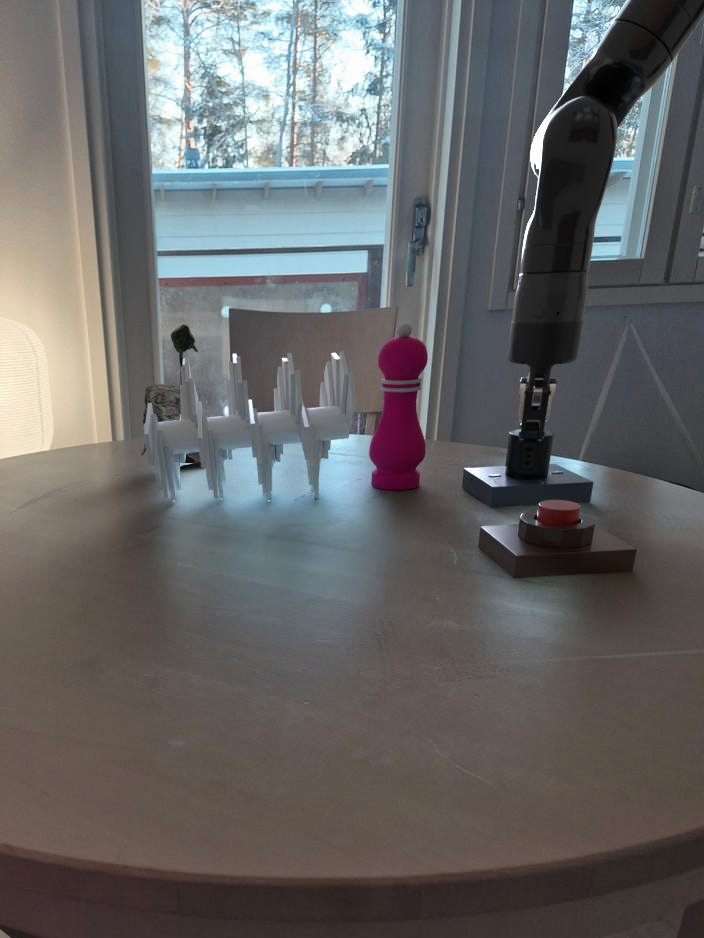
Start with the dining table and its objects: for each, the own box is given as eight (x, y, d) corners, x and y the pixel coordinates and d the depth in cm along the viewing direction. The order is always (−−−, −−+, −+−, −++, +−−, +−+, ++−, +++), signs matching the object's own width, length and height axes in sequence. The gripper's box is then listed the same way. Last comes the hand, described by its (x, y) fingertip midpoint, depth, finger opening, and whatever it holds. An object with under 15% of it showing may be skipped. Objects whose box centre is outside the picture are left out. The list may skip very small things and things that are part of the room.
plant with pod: (143, 461, 119) (132, 325, 110) (214, 457, 119) (208, 322, 110) (140, 472, 111) (128, 328, 103) (216, 468, 112) (209, 325, 103)
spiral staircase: (161, 521, 101) (344, 506, 100) (142, 497, 84) (363, 478, 83) (150, 389, 101) (333, 372, 100) (129, 337, 84) (350, 315, 83)
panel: (552, 482, 97) (555, 462, 96) (590, 502, 88) (594, 480, 87) (461, 487, 96) (463, 466, 95) (490, 508, 87) (493, 485, 86)
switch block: (584, 541, 75) (591, 503, 74) (632, 572, 67) (641, 529, 66) (477, 547, 75) (482, 508, 73) (513, 578, 67) (519, 536, 65)
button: (566, 516, 71) (569, 498, 71) (584, 527, 68) (588, 508, 67) (529, 518, 71) (532, 500, 70) (546, 529, 68) (549, 511, 67)
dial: (504, 468, 94) (510, 426, 92) (547, 470, 92) (553, 427, 90) (503, 478, 90) (509, 433, 87) (548, 480, 88) (555, 434, 86)
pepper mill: (357, 486, 99) (363, 324, 90) (386, 475, 104) (394, 320, 95) (404, 494, 94) (416, 324, 86) (433, 482, 99) (446, 320, 90)
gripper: (587, 320, 76) (560, 484, 84) (580, 313, 88) (557, 456, 96) (509, 322, 79) (490, 480, 86) (513, 314, 91) (496, 454, 98)
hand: (526, 467), depth 91 cm, fingers closed on dial, 5 cm apart
